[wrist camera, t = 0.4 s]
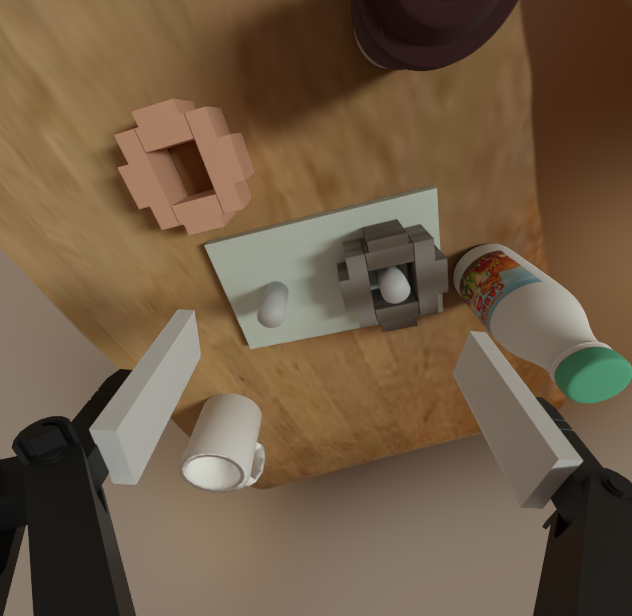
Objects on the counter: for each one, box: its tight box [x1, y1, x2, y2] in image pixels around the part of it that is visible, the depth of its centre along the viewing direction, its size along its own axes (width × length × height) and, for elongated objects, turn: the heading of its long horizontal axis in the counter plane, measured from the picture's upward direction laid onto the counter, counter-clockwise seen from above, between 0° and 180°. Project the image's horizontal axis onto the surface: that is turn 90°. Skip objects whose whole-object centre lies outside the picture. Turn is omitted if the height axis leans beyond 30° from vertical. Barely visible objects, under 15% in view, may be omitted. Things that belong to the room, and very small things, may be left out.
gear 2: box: [337, 219, 449, 332], centre depth 37 cm, size 11×11×5 cm
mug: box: [179, 393, 265, 493], centre depth 51 cm, size 14×10×11 cm
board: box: [204, 185, 443, 349], centre depth 38 cm, size 16×27×8 cm, turn 104°
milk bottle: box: [453, 244, 632, 403], centre depth 32 cm, size 8×8×20 cm
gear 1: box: [114, 99, 255, 235], centre depth 32 cm, size 11×11×5 cm
